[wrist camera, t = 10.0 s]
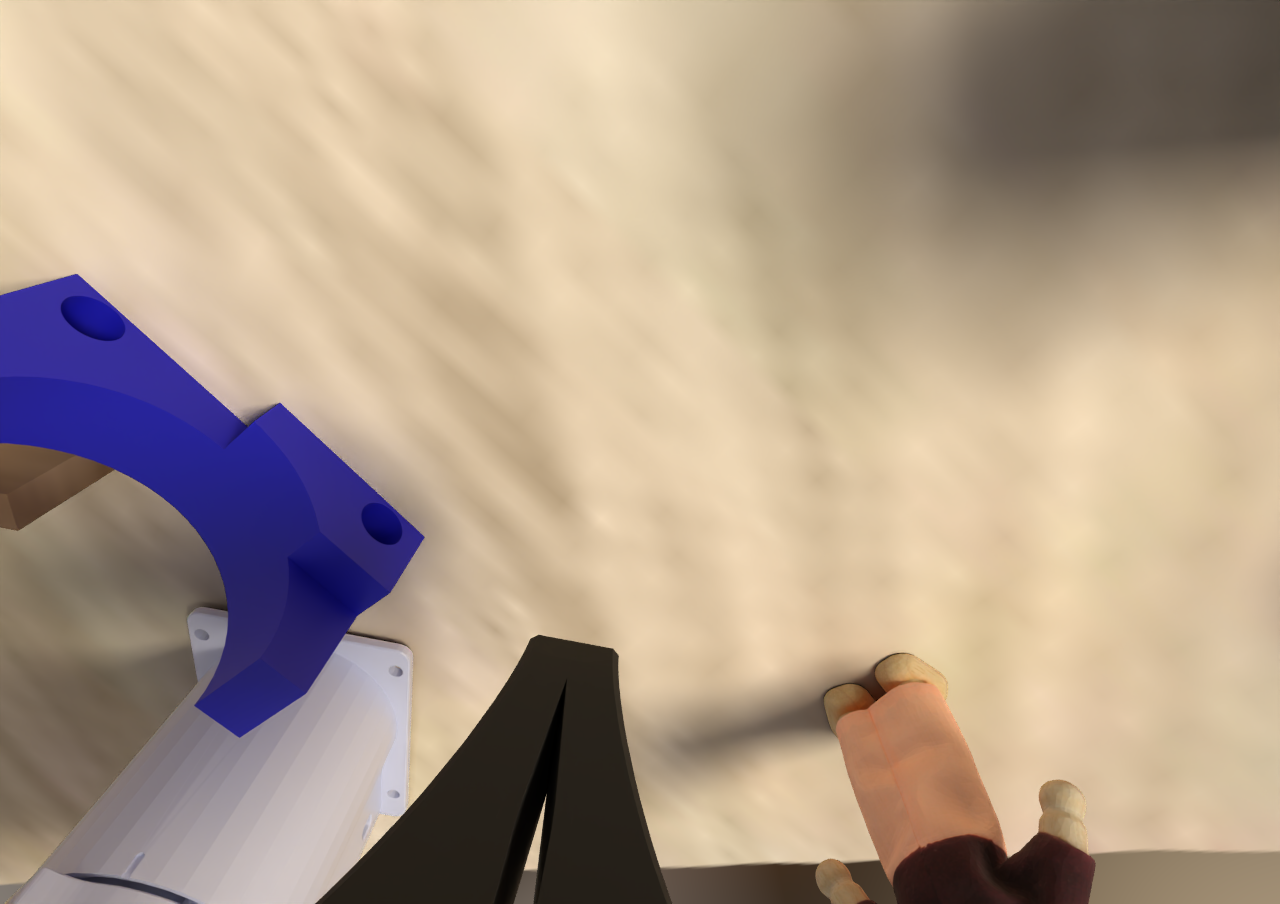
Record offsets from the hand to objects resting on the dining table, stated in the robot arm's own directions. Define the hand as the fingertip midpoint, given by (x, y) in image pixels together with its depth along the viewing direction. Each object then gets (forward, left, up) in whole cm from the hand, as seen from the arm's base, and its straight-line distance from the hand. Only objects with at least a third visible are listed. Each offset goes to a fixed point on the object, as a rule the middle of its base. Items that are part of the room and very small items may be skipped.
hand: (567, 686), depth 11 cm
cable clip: (-3, +12, -10) cm, 16 cm away
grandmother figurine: (-8, -11, -10) cm, 17 cm away
